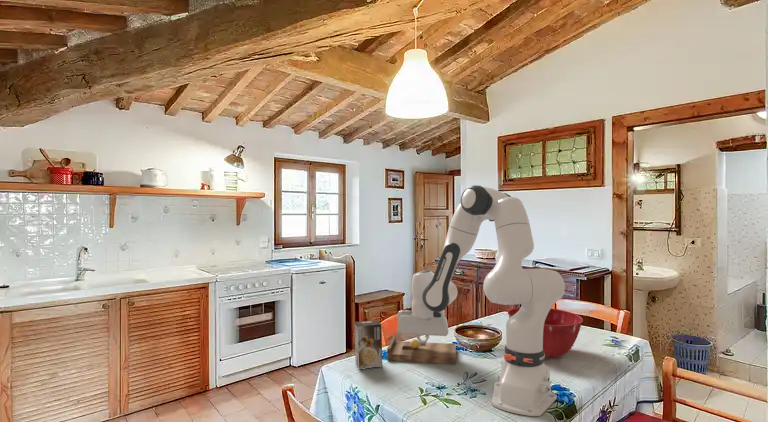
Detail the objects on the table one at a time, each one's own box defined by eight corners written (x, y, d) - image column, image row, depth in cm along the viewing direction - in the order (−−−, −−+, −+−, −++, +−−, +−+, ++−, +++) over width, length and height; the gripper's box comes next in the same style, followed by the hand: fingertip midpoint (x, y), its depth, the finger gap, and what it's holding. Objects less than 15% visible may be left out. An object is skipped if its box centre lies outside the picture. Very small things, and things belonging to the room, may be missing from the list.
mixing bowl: (568, 342, 177) (568, 306, 177) (595, 367, 148) (595, 325, 148) (501, 340, 180) (501, 305, 180) (516, 365, 151) (516, 323, 151)
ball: (413, 350, 161) (419, 345, 160) (407, 343, 162) (414, 337, 162) (415, 350, 164) (422, 344, 163) (410, 342, 165) (416, 337, 165)
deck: (455, 349, 168) (455, 339, 168) (455, 364, 152) (455, 352, 152) (393, 346, 172) (393, 336, 172) (387, 360, 157) (387, 348, 157)
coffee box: (378, 361, 156) (378, 319, 156) (382, 367, 149) (382, 324, 149) (354, 364, 153) (354, 321, 153) (358, 370, 147) (358, 326, 147)
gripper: (395, 312, 161) (396, 346, 161) (448, 313, 158) (448, 349, 158) (398, 308, 167) (398, 341, 167) (448, 309, 164) (448, 344, 164)
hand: (422, 345), depth 162 cm, fingers closed
